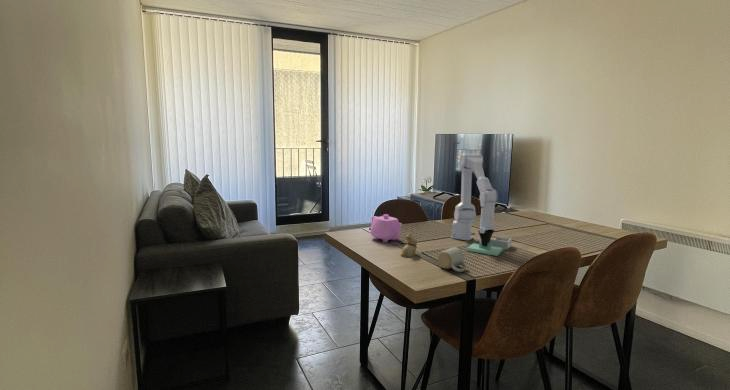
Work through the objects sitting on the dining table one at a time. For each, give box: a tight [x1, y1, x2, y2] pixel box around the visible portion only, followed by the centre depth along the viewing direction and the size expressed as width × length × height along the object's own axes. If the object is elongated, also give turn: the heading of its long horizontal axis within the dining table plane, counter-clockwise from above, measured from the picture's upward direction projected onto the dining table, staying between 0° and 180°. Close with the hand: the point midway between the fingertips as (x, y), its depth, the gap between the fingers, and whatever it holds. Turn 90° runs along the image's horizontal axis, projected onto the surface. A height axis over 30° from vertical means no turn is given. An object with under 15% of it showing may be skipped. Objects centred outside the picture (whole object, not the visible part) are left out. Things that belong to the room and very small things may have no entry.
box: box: [489, 235, 513, 251], centre depth 189 cm, size 12×8×4 cm, turn 57°
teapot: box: [370, 213, 403, 243], centre depth 196 cm, size 20×12×13 cm, turn 43°
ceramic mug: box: [437, 246, 467, 273], centre depth 155 cm, size 11×8×8 cm
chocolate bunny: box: [400, 232, 418, 257], centre depth 172 cm, size 6×8×10 cm
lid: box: [466, 241, 504, 257], centre depth 180 cm, size 14×10×4 cm
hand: (485, 245), depth 180 cm, fingers closed on lid, 2 cm apart
